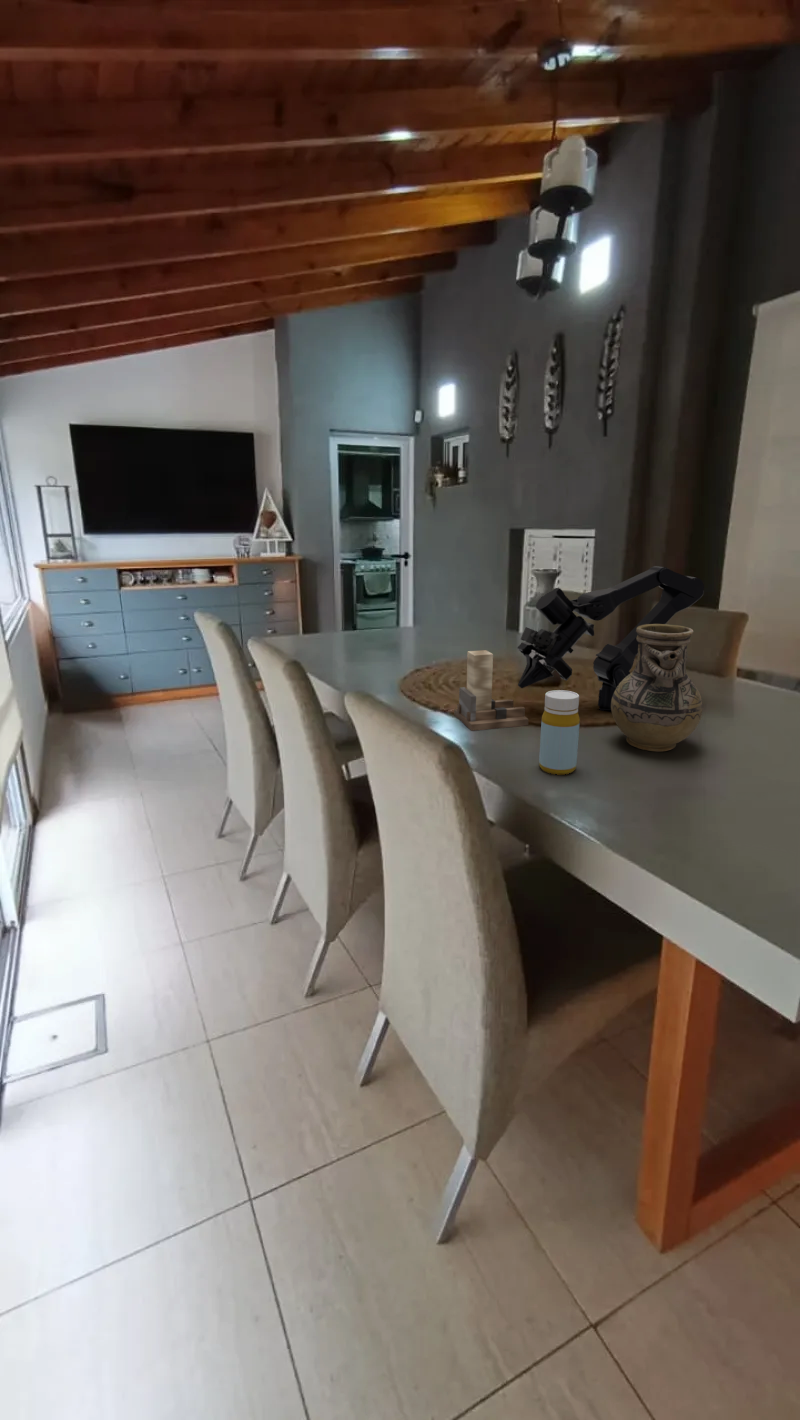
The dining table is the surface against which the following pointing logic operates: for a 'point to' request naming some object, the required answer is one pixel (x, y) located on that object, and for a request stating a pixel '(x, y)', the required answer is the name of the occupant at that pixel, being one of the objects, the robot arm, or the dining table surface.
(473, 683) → the birch peg
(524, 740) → the dining table surface
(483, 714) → the peg housing
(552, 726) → the bottle
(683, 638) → the decorative pitcher
